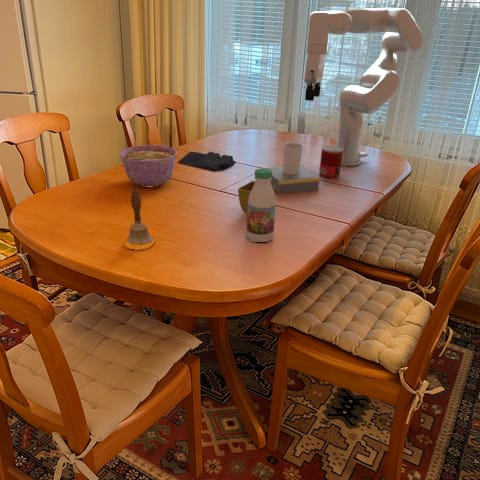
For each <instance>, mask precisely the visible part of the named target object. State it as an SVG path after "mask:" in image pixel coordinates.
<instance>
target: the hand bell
mask: <svg viewBox="0 0 480 480" xmlns="http://www.w3.org/2000/svg"><path fill="white" fill-rule="evenodd" d="M130 204H131V208H132V210H133V213H134V214H133V215H134V216H133V217H134V219H133V220H134V222H133V223H132V224H131V225H130V227H129V234H128V237H127V238H126V239H127V242H128V243H130V244H132V245H140V246H141V245H145V244H149V243H151V242H152V241H153V239H154V238H153V237H152V236H151V235H150V233H149V231H148V226H147V224H146V223H144V222H142V217H141V208H142V198H141V194H140V192H139V190H138V188H132V189H131V195H130Z"/></svg>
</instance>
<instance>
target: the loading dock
mask: <svg viewBox="0 0 480 480" xmlns="http://www.w3.org/2000/svg"><path fill="white" fill-rule="evenodd" d="M264 168H265V169H269V170H271V171H272V179H271V185H272V186H275V191H274V193H276V194H277V195H282V194H290V193H291V194H292V193H300V192H309V191H318V190H319V184H320V181H321V176H320V175H318V174H317V173H315V172H313V171H312V170H310V169H309V168H307V167H306V166H304V165H303V164H300V168H299V173H298V174H295V175H290V174H285V173H284V172H283V166H274V167H273V166H272V167H264Z"/></svg>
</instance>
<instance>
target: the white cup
mask: <svg viewBox="0 0 480 480" xmlns="http://www.w3.org/2000/svg"><path fill="white" fill-rule="evenodd" d="M302 153H303V144H301V143H297V142H286V143H284V144H283V166H282V167H283V172H284V173H285V174H290V175H295V174H298V173H299V168H300V165H301V160H302Z"/></svg>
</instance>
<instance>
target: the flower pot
mask: <svg viewBox="0 0 480 480" xmlns="http://www.w3.org/2000/svg"><path fill="white" fill-rule="evenodd" d="M254 184H255V181H254V180H251V181H249V182H248V183H246V184H243V185H241V186H240V187H238V188H237V194H238V201H239V206H240V208H241V210H242V211H243V213H244V214H245V215H247V209H248V198H249V194H250V192H251V190H252V188H253V186H254ZM271 186H272V185H271ZM272 189H273V191H274V192H275V186H272Z"/></svg>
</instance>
